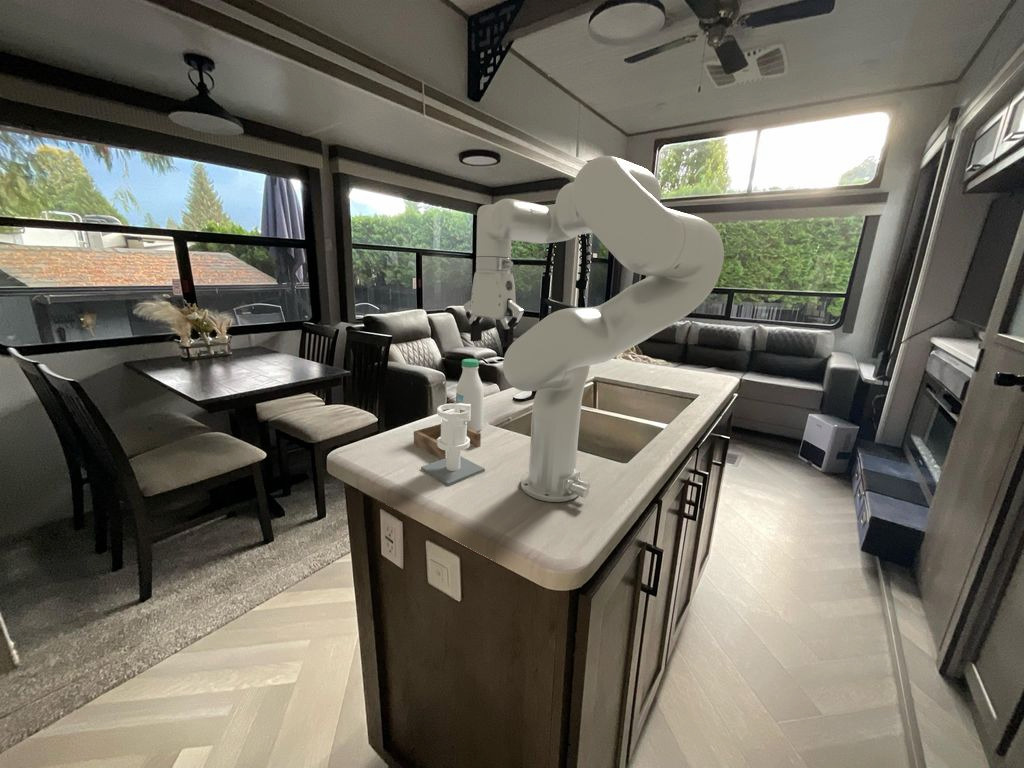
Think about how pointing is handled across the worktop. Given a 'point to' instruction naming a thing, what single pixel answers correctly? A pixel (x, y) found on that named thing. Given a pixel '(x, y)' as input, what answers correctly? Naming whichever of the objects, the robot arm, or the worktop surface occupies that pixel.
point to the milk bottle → (471, 393)
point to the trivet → (452, 477)
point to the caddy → (429, 435)
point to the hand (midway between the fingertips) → (491, 343)
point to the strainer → (454, 433)
